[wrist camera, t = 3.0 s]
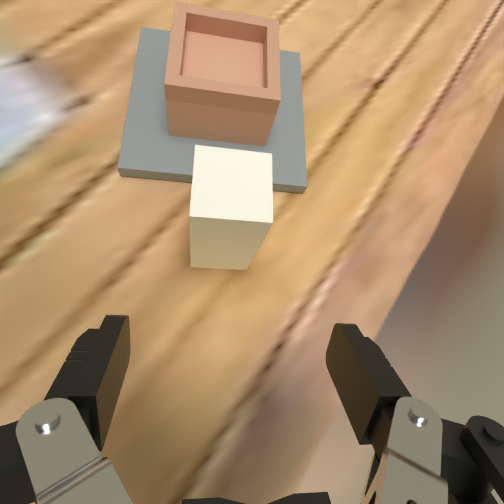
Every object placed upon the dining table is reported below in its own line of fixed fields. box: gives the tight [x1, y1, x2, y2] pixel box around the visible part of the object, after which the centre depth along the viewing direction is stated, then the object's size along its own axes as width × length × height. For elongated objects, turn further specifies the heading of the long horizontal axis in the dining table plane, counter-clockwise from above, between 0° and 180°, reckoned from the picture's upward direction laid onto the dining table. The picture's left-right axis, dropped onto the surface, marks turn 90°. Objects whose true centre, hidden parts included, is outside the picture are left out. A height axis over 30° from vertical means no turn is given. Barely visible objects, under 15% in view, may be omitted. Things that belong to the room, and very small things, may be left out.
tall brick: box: [189, 145, 273, 270], centre depth 23 cm, size 4×4×10 cm
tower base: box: [118, 2, 307, 193], centre depth 28 cm, size 16×16×7 cm
